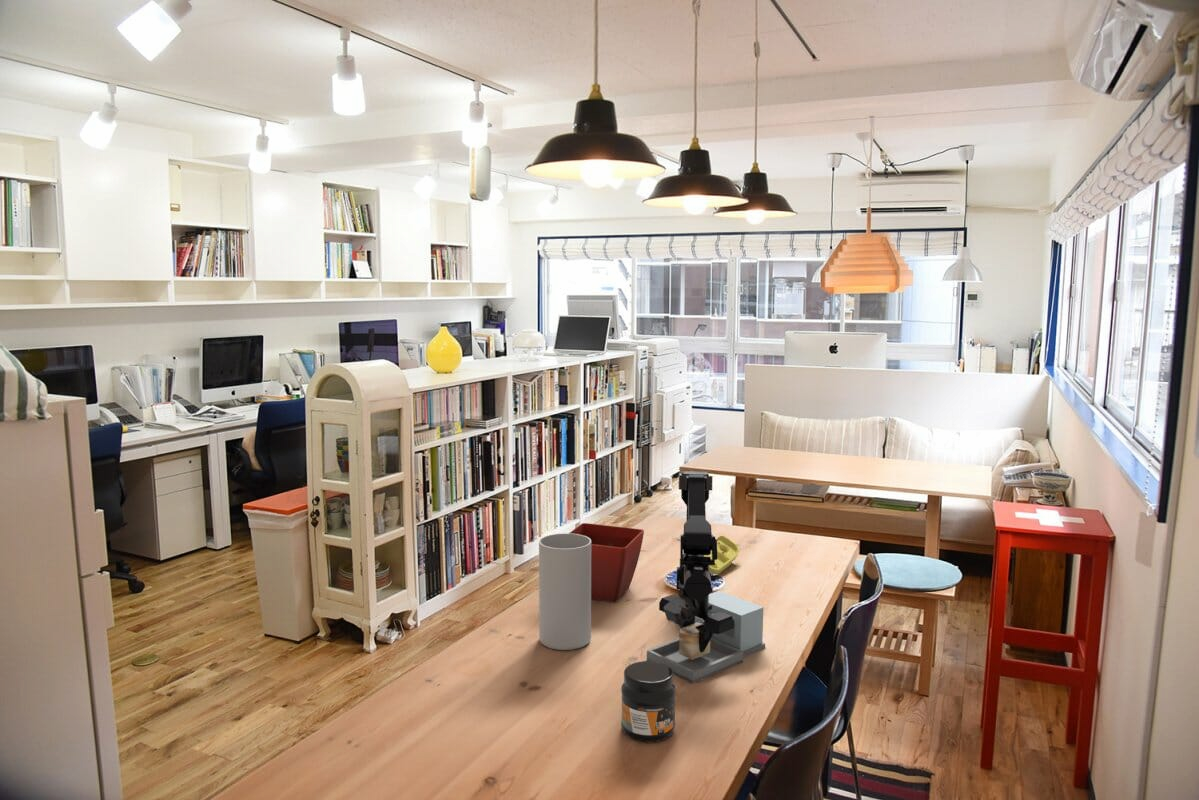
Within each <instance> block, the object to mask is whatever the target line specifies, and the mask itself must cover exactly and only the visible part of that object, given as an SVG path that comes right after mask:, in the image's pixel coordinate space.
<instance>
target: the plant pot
mask: <svg viewBox="0 0 1199 800" xmlns="http://www.w3.org/2000/svg"><path fill="white" fill-rule="evenodd" d="M569 533H570V534H579V535H583V536H586V537H588V538H590V539H591V600H597V601H603V602H611V603H615V602H618V601H619V600H620V599H621V597H622V596H624V594H625V593H626V592H627V591H628V590H629V588H630V587H631V583H632V581H633V578H634V575H635V573H636V568H637V566H638V562H639V560H640V559H639V558H640V554H641V550H642V546H643V540H644V535H645V534H644V533H645V530H644V529H639V528H632V527H624V526H623V527H622V526H613V525H607V524H606V525H605V524H596V523H588V522H582V523H581V524H579V525H578V526H577V527H575V528H574V529H572V530H571V531H570V532H569Z"/></svg>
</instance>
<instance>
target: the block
mask: <svg viewBox="0 0 1199 800" xmlns="http://www.w3.org/2000/svg"><path fill="white" fill-rule="evenodd" d="M699 625H701V623H699V622H697V623H694V624H692V625H689V626H686V627H683V628H681V629H680V628H679V632H678V633H679V636H678V638H680V643H679V654H681V655H683V656H685V657H687V658H689V659H691V660H693V659H695V658H698V657H700V656H703V655H705V654H707V653H710V641H709V643H708V645H707V647H706V649H705V651H704V652H702V653H701V652H700V649H699V631H698V630H697V629H696V628H695V627H697V626H699Z"/></svg>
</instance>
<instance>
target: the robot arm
mask: <svg viewBox="0 0 1199 800" xmlns="http://www.w3.org/2000/svg"><path fill="white" fill-rule="evenodd" d="M678 490H680V496H681V497H680V498H681V499H682V501H683V502H684V504H685V506H686V521H685V522H684V524H683V533H680V542H679V544H680V547H679V548H680V558H679V566H677V567H676V581H675V582H676V585H675V586H676V591H678V594H677V593H673V594H670V595H668V596H664V597H662V598H661V599H660V600H659V605H658V606H659V607H658V610H659V611H660V612H662V613H664V614H665V617H666V620H667V621H669V622H672V623H675V625H677V626H679V630H680V629H681V628H683V627H686V626H689V625H692V624H694V623H695V617H696V618H698V619H701V620H702V623H701V625H699V626H697V627H695V628H696V629H697V630H698V631H699V649H700V652H701V653H702V652H704V651H705V649H706V647H707V645H708V643H709V641H710V639H711V637H712V635H713V634H720V633H723V632H726V631H728V630H731V629H733V628H734V622H735V621H734V618H733V617H732V616H730V615H728V614H725V613H723V612H718V613H715V614H710V613H708V611H709V610H711V609H712V605H711V604H709V594H711V593H714V591H713V590H714V588H713V587H712V577H711V573H710V572H709V568H710V565H715V560H717V538H716V536H715V535H714V534H712V525H711V523H710V522H709V521H708V520H707V517H706V516H707V515H706V503H707V501H708V500H709V499H710V491H713V475H710V474H709V473H708V471H695V470H694V471H692V470H688V471H686V470H684V471H683V472H681V474H680V475H678ZM711 551H712V559H711V557H704V555H710V554H711Z"/></svg>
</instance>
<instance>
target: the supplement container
mask: <svg viewBox="0 0 1199 800" xmlns="http://www.w3.org/2000/svg"><path fill="white" fill-rule="evenodd" d="M674 677H675V674H673V671H672V669H671V668H670V667H668V666H667V665H665V664H662V663H659V662H653V661H647V660H646V661H645V660H644V661H643V660H642V661H638V662H637V661H636V662H633V663H631V664H629V665H627V666H626V667H625V668H624V671H623V682H622V684H621V689H620V692H621V720H620V725H621V730H622V731H623V732H624V734H625V735H626V736H628V737H629V738H632V739H633V740H636V741H639V742H645V743H655V742H659V741H663V740H666V739H667V738H669V737H670V736H671V735H672V734H673V733H674V732H675V728H676V721H675V720H676V719H675V718H676V713H675V712H676V711H675V710H676V694H677V690H676V689H677V688H676V686H675V685H674Z"/></svg>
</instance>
